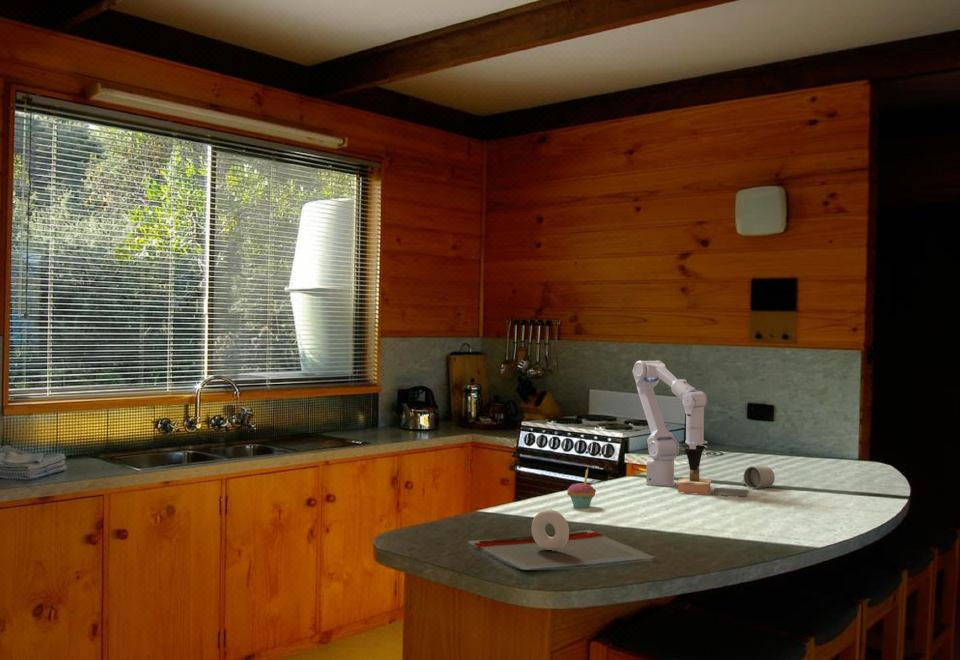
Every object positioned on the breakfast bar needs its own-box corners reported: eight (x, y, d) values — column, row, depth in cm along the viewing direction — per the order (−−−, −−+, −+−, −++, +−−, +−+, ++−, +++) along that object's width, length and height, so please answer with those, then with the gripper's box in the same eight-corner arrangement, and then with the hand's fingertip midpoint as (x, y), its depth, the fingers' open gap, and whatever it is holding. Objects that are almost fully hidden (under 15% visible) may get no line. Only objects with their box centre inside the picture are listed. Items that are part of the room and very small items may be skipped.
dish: (677, 492, 291) (678, 483, 291) (681, 488, 300) (681, 479, 300) (707, 494, 288) (707, 485, 288) (710, 489, 297) (710, 481, 297)
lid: (676, 483, 291) (676, 468, 291) (680, 478, 300) (680, 464, 300) (709, 485, 287) (709, 470, 287) (711, 480, 297) (711, 466, 297)
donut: (528, 549, 213) (528, 508, 213) (535, 546, 215) (536, 505, 215) (564, 555, 207) (565, 513, 207) (571, 552, 210) (572, 510, 210)
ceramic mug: (776, 488, 301) (776, 465, 301) (761, 490, 296) (760, 467, 297) (751, 484, 310) (751, 462, 310) (735, 486, 305) (735, 464, 305)
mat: (711, 495, 287) (711, 494, 287) (714, 488, 299) (714, 487, 299) (746, 497, 283) (746, 496, 283) (748, 491, 295) (748, 489, 295)
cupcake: (598, 505, 268) (599, 466, 268) (590, 510, 260) (590, 470, 260) (572, 503, 271) (572, 464, 271) (562, 508, 264) (563, 467, 264)
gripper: (705, 430, 286) (705, 472, 286) (709, 426, 299) (708, 466, 299) (683, 429, 288) (682, 470, 288) (687, 425, 302) (687, 464, 302)
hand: (694, 468), depth 294 cm, fingers open, 7 cm apart
